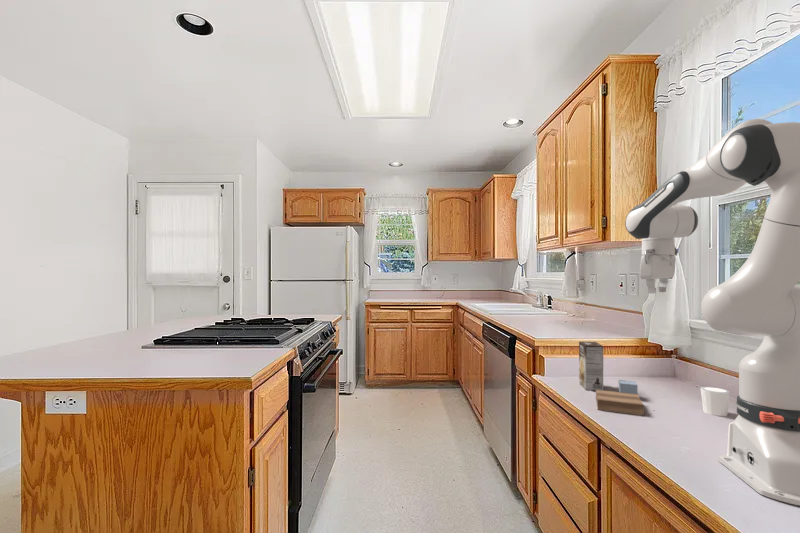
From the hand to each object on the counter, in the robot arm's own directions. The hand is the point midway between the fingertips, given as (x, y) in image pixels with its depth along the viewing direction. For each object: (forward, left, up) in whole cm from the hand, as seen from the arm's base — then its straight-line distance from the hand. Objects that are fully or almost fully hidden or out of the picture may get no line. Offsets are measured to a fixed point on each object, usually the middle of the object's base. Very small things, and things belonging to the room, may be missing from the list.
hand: (657, 292), depth 127 cm
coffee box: (+13, +19, -36) cm, 42 cm away
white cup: (-2, -14, -36) cm, 38 cm away
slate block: (+5, +8, -36) cm, 37 cm away
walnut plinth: (-8, +12, -36) cm, 38 cm away
